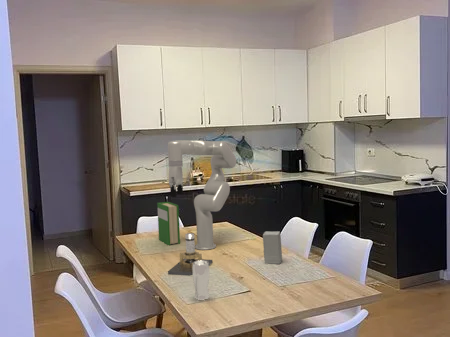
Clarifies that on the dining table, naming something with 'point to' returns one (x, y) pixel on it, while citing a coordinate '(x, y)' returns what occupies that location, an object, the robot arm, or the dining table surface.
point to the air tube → (190, 246)
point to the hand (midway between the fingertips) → (176, 195)
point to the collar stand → (186, 264)
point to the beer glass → (201, 279)
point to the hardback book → (168, 223)
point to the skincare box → (272, 247)
